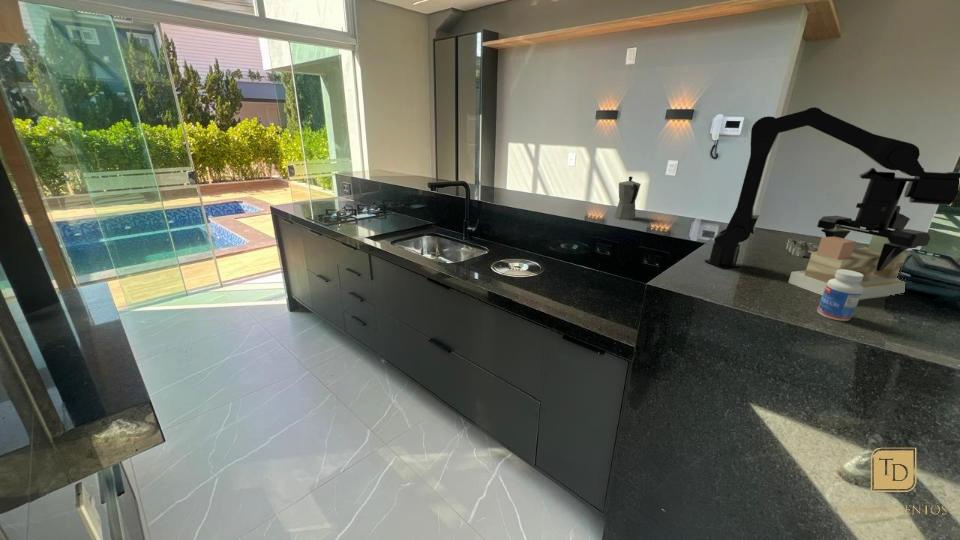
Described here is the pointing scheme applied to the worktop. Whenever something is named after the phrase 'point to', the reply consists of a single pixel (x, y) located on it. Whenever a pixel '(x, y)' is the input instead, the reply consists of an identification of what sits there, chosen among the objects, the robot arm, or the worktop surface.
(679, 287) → the worktop surface
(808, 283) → the dock
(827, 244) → the salmon pink cube
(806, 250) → the egg carton
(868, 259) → the brown long block
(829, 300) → the pill bottle
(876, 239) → the pale green cube
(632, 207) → the coffeepot
